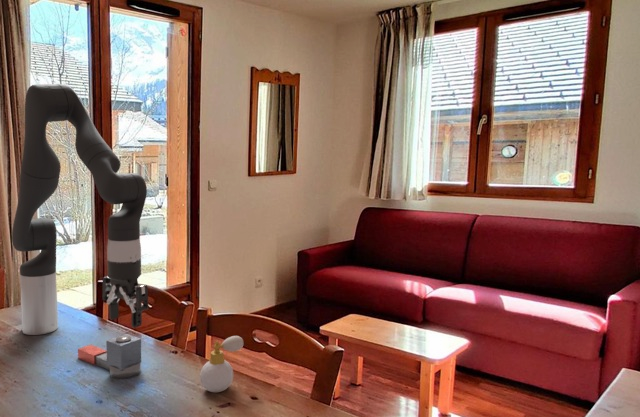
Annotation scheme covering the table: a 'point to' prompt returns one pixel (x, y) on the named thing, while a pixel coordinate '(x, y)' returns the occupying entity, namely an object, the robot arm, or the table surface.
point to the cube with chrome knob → (123, 351)
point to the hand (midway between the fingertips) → (125, 322)
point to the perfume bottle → (220, 366)
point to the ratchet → (100, 359)
